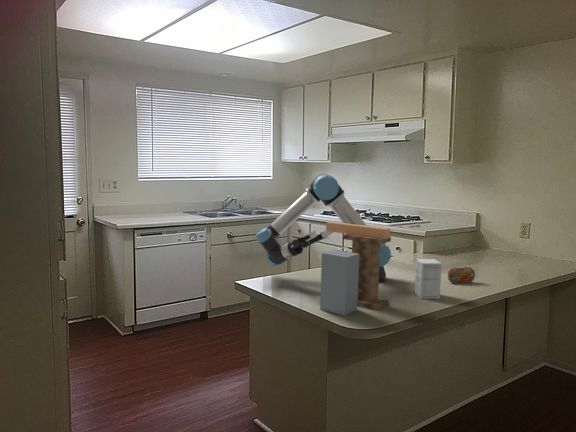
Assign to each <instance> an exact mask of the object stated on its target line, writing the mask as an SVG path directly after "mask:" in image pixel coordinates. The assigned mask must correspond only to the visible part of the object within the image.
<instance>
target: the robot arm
mask: <svg viewBox="0 0 576 432" xmlns="http://www.w3.org/2000/svg"><path fill="white" fill-rule="evenodd" d="M319 202H322V203H323V205H324V206H325V207H328V208H330V209H331V210H332V212H333V213H334V214H335V215H336V216H337V218H338V219H339V220H340V221H341V223H348V224H356V225H364V226H368V225H367V223H366V222H365V221H364V220H363V218H362V217H361V216H360V215H359V214H358V212H357V211H356V209H354V207H353V206H352V204H351V203H350V202H349V200H348V199H347V198H346V197H345V191H344V190H343V188H342V186H341V185H340V184H339V182H338V181H337V179H336V178H335V177H334V176H333V175H330V174H327V173H326V174H325V173H323V174H319V175H317V176H316V177H315V178H314V180H313V181H312V182H311V183H310V184H309V185H308V186H307V187H306V189H305V192H303V194H301V196H300V197H298V198H297V199H296V200H295V201H294V202H293V203H292V204H291V205H290V206H289V207H288V208H286V210H285V211H283V212H282V213H281V214H280V215H279V216H278V217H277V218H276V219H275V220H274V221H273V222H272V223H270V225H269V226H268V227H264V228H263V229H261V230H259V231H258V232H257V233H256V234H255V238H256V240H257V242H258V243H259V244H260V246H262V247H263V249H264V251H265V252H266V253H267V255H266V260H267V263H268V264H269V266H271V267H277V266H280V265H282V264H284V263H285V262H287V261H289V260H293V258H295V257H296V256H298V255H300V254H301V255H302V253H303V250H304V249H305V248H306V247H309V246H312V245H313V244H316V243H317V242H319V241H322V240H325V239H326V238H327V237H329V236H330V235H332V234H334V233H335V232H330V231H326V230H323V231H321V232H320V234H317V233H316V230H313V231H311V232H309V233H308V234H306V235H303V236H301V237H298V238H297V239H292V240H291V241H288V242H287V243H285V244H283V245H280V243H279V242H278V240H277V239H278V238H279V237H280V236H281V235H282V234H283V233H284V232H285V231H286V230H288V228H290V227H291V226H292V224H294V223H295V222H296V221H298V219H299V218H300V217H301V216H303V215H304V214H305V213H306V212H307V211H308V210H309V209H311V207H312V206H314V205H315V203H319ZM391 252H392V251H391V249H390V247H389V246H388V245H387V243H383V244H381V245H380V266H379V283H380V282H381V283H382V282H385V281H387V274H386V270H385V266H386V265H387V264H389V262H390V260H391V257H392V253H391Z"/></svg>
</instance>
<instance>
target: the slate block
mask: <svg viewBox="0 0 576 432" xmlns="http://www.w3.org/2000/svg"><path fill="white" fill-rule="evenodd" d="M320 271H321V272H320V296H319V297H320V299H319V301H320V303H319V309H320V310H322V311H326V312H330V313H333V314H337V315H341V316H347V315H349V314H351V313H353V312H355V311H357V310H358V306H357V299H358V276H359V254H358V253H352V251H346V250H345V251H344V250H338V249H333V250H329V251H325V252H322V253H321V270H320Z"/></svg>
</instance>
